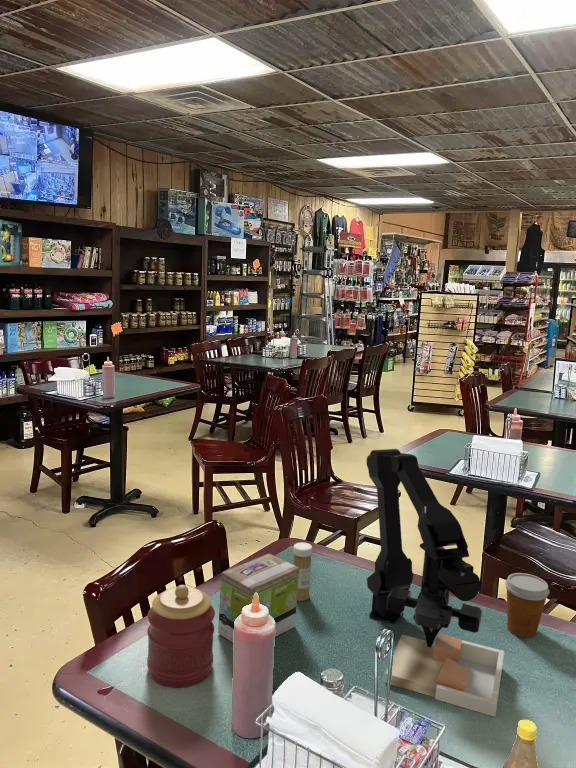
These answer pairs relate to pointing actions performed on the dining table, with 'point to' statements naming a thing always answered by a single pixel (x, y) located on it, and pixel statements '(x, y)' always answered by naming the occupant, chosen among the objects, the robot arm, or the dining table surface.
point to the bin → (476, 679)
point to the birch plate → (415, 666)
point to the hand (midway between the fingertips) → (429, 646)
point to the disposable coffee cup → (525, 603)
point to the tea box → (259, 592)
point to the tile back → (447, 648)
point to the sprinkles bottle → (303, 568)
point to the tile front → (452, 675)
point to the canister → (180, 637)
